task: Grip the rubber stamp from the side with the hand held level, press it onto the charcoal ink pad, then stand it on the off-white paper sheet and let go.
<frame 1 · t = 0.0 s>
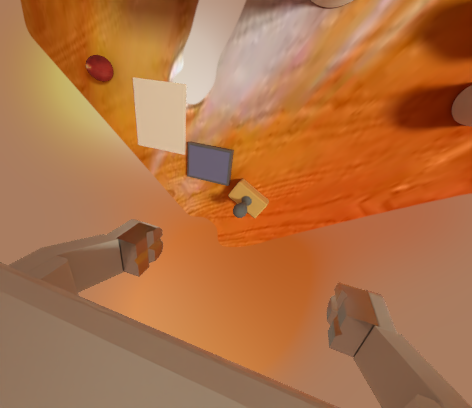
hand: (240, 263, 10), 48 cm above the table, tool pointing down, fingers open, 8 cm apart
rubber stamp: (250, 195, 62), on the table
onion: (112, 70, 59), on the table
ink pad: (210, 163, 61), on the table
paper: (160, 117, 60), on the table
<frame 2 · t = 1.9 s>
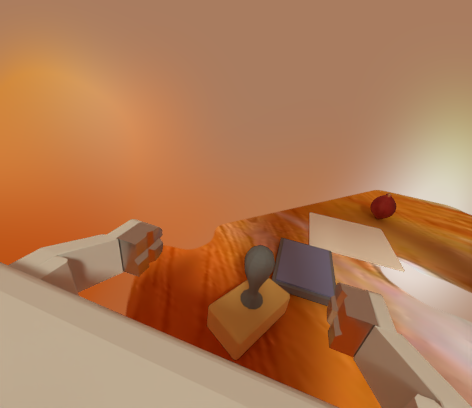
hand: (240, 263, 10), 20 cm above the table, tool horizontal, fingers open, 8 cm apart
rubber stamp: (247, 319, 29), on the table
onion: (377, 219, 61), on the table
ink pad: (303, 269, 39), on the table
paper: (348, 237, 50), on the table
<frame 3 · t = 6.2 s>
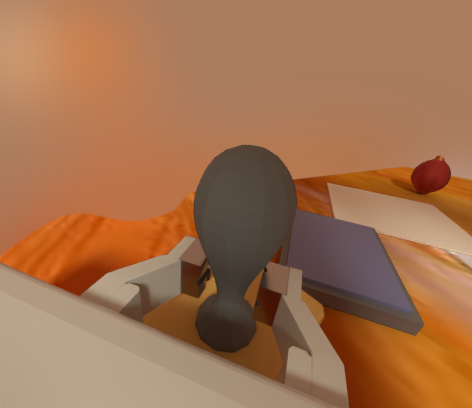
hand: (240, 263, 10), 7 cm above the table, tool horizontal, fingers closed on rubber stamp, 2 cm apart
rubber stamp: (219, 366, 12), on the table, touching gripper
onion: (420, 194, 44), on the table
ink pad: (331, 256, 22), on the table
paper: (390, 212, 33), on the table
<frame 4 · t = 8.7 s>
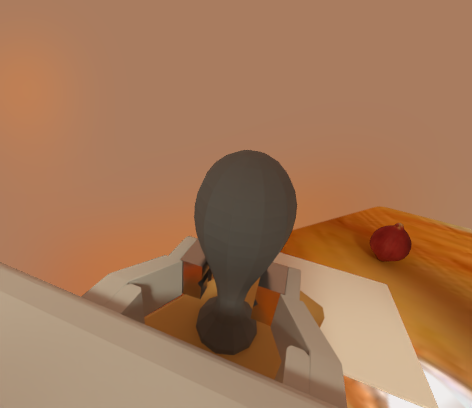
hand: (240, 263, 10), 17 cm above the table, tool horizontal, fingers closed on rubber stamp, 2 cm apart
rubber stamp: (219, 368, 12), point 10 cm above the table, touching gripper
onion: (380, 260, 39), on the table
paper: (329, 307, 28), on the table
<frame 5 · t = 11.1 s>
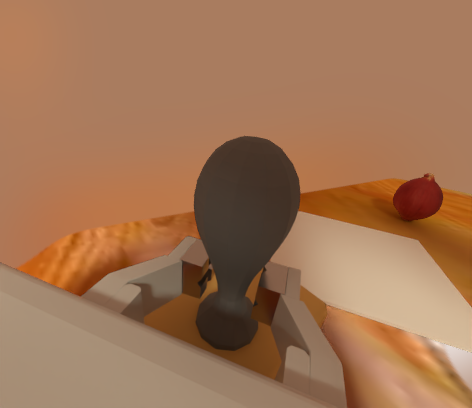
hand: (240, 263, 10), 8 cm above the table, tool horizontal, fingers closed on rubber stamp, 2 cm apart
rubber stamp: (219, 365, 12), point 1 cm above the table, touching gripper, ink pad
onion: (404, 221, 35), on the table
paper: (356, 258, 24), on the table
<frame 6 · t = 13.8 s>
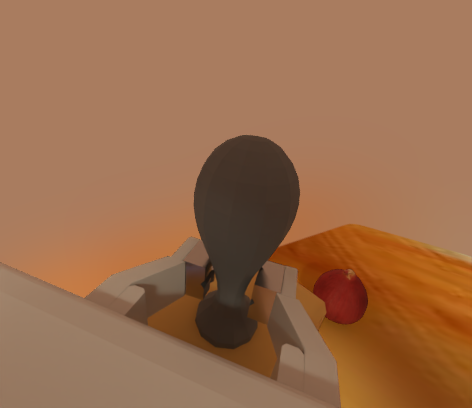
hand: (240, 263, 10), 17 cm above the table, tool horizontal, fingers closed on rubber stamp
rubber stamp: (219, 363, 12), point 10 cm above the table, touching gripper
onion: (329, 317, 27), on the table
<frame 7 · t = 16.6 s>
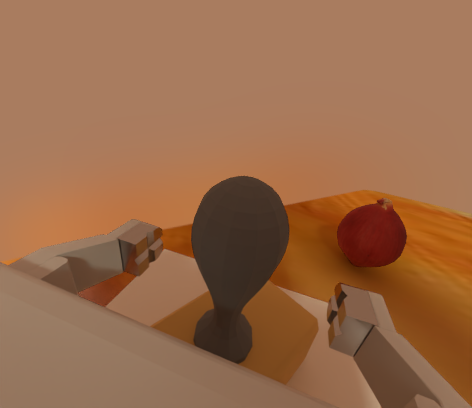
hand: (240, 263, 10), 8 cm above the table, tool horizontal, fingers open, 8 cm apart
rubber stamp: (216, 378, 12), resting on paper
onion: (354, 265, 23), on the table
paper: (218, 376, 12), on the table
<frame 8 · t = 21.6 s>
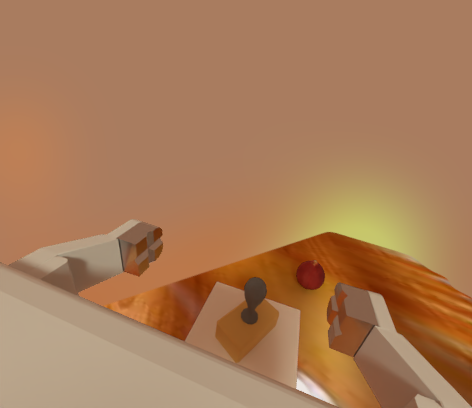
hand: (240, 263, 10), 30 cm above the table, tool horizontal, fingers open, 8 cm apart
rubber stamp: (246, 331, 38), resting on paper
onion: (305, 287, 49), on the table
paper: (246, 330, 38), on the table
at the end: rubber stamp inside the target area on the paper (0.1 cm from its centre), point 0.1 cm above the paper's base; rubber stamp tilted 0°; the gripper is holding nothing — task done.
